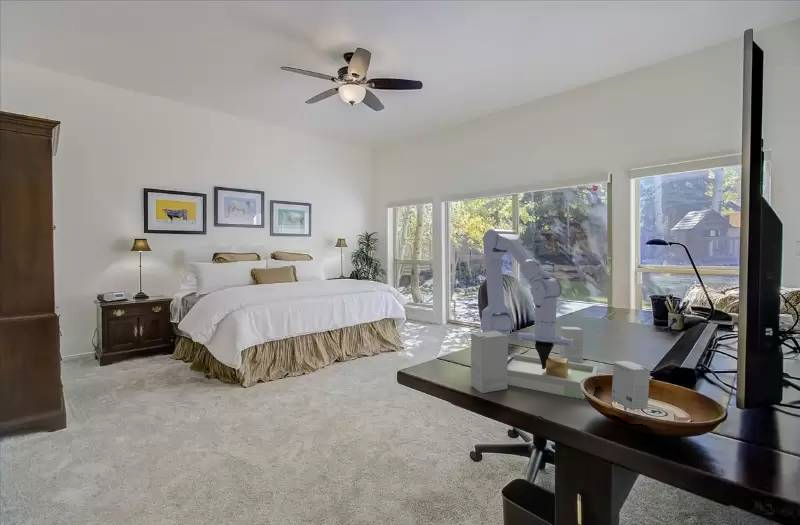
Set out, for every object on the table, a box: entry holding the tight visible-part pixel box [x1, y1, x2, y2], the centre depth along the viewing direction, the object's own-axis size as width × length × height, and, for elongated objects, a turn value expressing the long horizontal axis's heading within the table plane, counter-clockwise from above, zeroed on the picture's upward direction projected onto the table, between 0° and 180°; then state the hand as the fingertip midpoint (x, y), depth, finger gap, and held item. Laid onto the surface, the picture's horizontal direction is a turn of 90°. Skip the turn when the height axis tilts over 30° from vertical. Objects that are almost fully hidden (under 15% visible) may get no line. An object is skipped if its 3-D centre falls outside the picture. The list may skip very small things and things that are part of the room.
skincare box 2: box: [559, 326, 584, 364], centre depth 121 cm, size 6×4×12 cm
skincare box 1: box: [470, 331, 509, 394], centre depth 99 cm, size 8×6×15 cm
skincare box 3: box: [610, 360, 651, 410], centre depth 81 cm, size 6×4×12 cm
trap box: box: [507, 353, 599, 400], centre depth 105 cm, size 24×18×4 cm
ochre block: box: [546, 355, 568, 378], centre depth 103 cm, size 5×5×4 cm
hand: (544, 368), depth 105 cm, fingers closed
